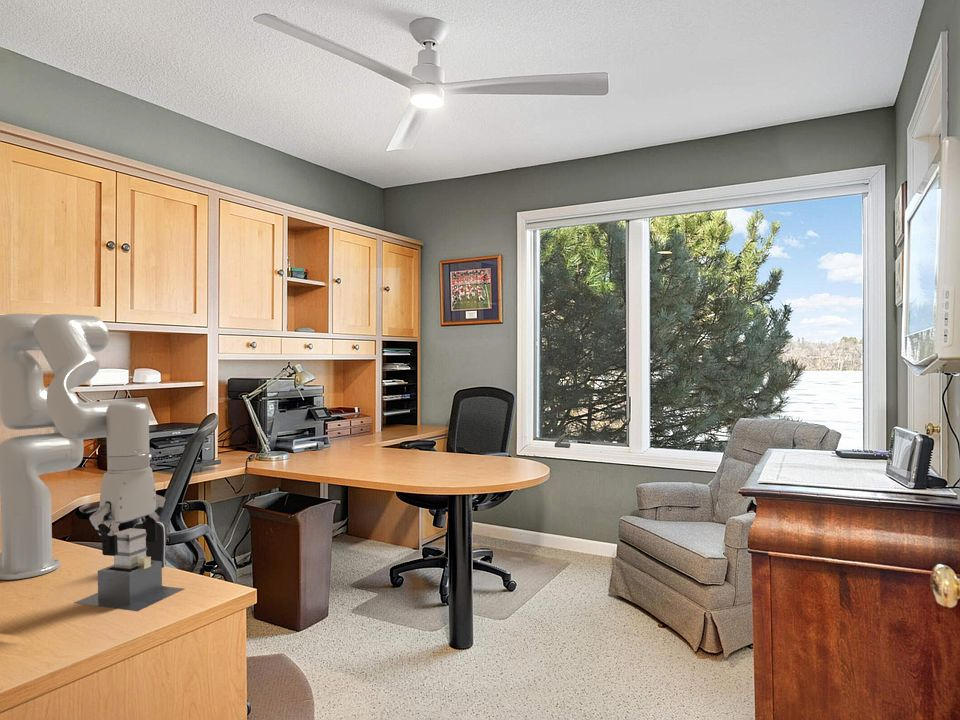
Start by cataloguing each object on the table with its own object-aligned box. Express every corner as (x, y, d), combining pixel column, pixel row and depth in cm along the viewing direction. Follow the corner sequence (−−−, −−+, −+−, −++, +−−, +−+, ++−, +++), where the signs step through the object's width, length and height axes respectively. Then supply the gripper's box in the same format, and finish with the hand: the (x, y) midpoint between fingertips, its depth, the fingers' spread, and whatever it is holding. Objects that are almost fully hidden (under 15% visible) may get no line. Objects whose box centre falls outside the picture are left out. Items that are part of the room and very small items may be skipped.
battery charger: (169, 566, 147) (168, 518, 147) (163, 572, 143) (163, 522, 144) (137, 568, 146) (137, 519, 146) (131, 574, 142) (130, 524, 142)
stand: (73, 607, 123) (72, 562, 123) (124, 586, 134) (124, 544, 134) (137, 616, 118) (137, 568, 118) (185, 593, 130) (184, 550, 130)
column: (113, 598, 125) (111, 533, 125) (131, 590, 129) (130, 527, 129) (130, 600, 124) (129, 535, 124) (148, 592, 128) (147, 529, 128)
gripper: (148, 456, 136) (150, 535, 136) (75, 470, 119) (77, 559, 119) (176, 457, 133) (178, 537, 133) (106, 471, 117) (108, 562, 117)
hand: (130, 547), depth 126 cm, fingers open, 9 cm apart
